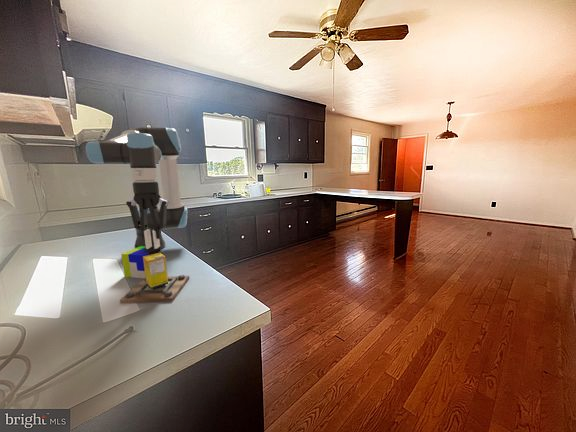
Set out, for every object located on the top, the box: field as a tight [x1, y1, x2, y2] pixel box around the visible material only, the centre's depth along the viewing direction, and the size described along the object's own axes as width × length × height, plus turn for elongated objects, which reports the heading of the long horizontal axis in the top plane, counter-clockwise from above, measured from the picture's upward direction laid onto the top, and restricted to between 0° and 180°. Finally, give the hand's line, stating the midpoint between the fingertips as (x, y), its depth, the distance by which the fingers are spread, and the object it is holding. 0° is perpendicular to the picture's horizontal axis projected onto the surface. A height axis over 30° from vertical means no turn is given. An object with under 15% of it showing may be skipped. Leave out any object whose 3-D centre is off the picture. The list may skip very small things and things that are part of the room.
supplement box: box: [143, 253, 168, 289], centre depth 87 cm, size 6×6×11 cm
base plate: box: [119, 274, 190, 304], centre depth 88 cm, size 17×17×2 cm
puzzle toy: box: [121, 246, 162, 279], centre depth 102 cm, size 10×10×10 cm
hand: (153, 247), depth 85 cm, fingers open, 2 cm apart
